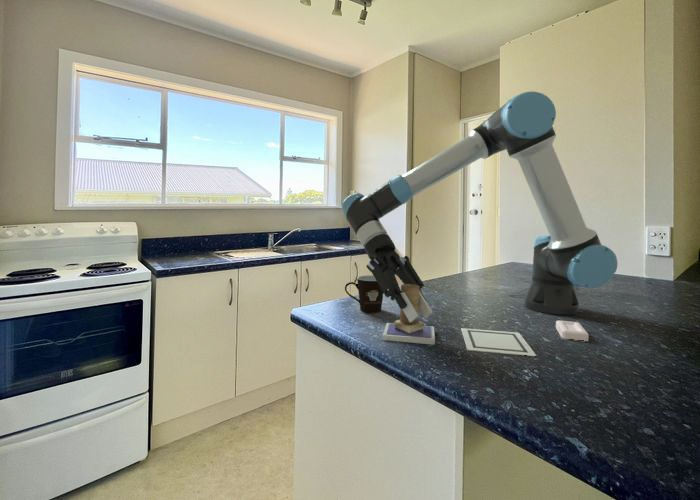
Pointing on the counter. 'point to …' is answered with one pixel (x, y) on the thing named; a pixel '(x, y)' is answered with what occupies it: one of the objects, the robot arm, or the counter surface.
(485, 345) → the sheet
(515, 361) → the counter surface
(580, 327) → the soap bar
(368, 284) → the coffee mug
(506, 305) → the counter surface
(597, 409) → the counter surface
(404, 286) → the stamp
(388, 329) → the ink pad
